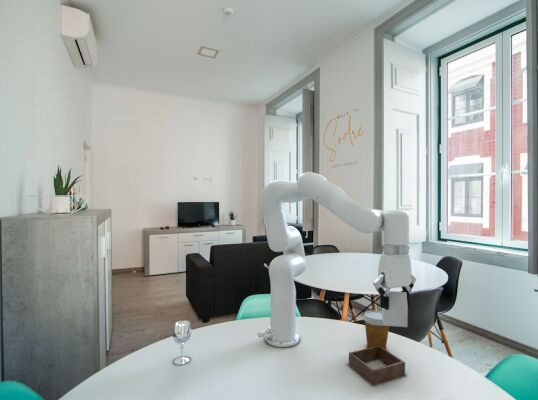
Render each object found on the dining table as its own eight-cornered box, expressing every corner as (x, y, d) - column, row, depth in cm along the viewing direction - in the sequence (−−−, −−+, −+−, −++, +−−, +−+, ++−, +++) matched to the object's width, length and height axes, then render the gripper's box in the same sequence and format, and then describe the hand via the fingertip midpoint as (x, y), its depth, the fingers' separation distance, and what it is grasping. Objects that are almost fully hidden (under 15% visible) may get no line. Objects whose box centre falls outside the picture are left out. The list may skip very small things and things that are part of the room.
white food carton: (407, 327, 90) (408, 294, 90) (384, 325, 91) (384, 292, 91) (404, 322, 93) (404, 290, 94) (382, 320, 94) (382, 289, 94)
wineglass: (194, 358, 97) (195, 321, 97) (181, 367, 91) (182, 328, 92) (181, 354, 99) (182, 318, 99) (167, 362, 94) (168, 324, 94)
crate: (373, 385, 84) (373, 371, 84) (348, 365, 95) (348, 352, 95) (405, 375, 90) (405, 362, 90) (378, 357, 100) (378, 345, 100)
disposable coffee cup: (387, 343, 110) (387, 310, 110) (393, 356, 101) (394, 320, 101) (361, 341, 111) (361, 309, 111) (365, 354, 102) (365, 319, 102)
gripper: (406, 246, 99) (406, 299, 99) (365, 249, 92) (364, 306, 92) (425, 250, 93) (425, 306, 92) (382, 253, 85) (381, 314, 85)
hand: (394, 306), depth 92 cm, fingers closed on white food carton, 7 cm apart
